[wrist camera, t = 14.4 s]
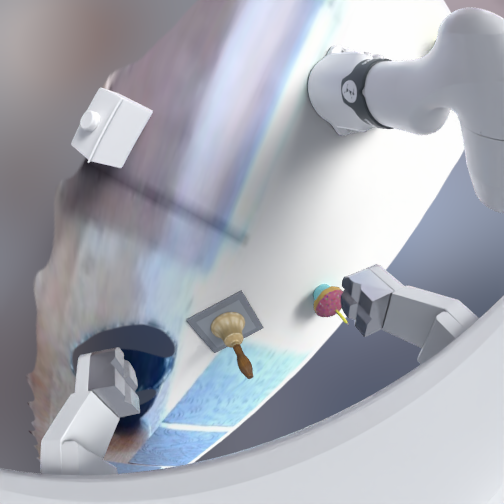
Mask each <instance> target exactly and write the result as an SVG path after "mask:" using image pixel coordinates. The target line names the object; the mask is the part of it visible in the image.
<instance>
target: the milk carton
mask: <svg viewBox="0 0 504 504" xmlns="http://www.w3.org/2000/svg"><path fill="white" fill-rule="evenodd" d="M152 113H153V111H152V110H150V109H148V108H146V107H144V106H143V105H141V104H139V103H137V102H135V101H133V100H131V99H129V98H127V97H125V96H123V95H120V94H118V93H116V92H113V91H110V90H107V89H104V88H100V89H99V90H98V92H97V93H96V95H95V97H94V98H93V100H92V102H91V104H90V106H89V108H88V109H87V111H86V112H85V113H84V114H83V116H82V118H81V121H80V126H79V127H78V129H77V131H76V134H75V136H74V138H73V140H72V143H71V145H72V146H73V147H74V148H75V149H77V150H78V151H79V152H80V153H81V154H82V155H84V156H85V157H86V158H87V159H88V163H90V162H91V161H92V162H96V163H101V164H105V165H109V166H114V167H118V168H122V167H123V165H124V163H125V161H126V159H127V157H128V155H129V153H130V152H131V150H132V148H133V146H134V144H135V142H136V141H137V139H138V137H139V135H140V133H141V132H142V130H143V128H144V127H145V125H146V123H147V121H148V120H149V118H150V116H151V115H152Z"/></svg>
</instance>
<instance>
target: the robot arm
mask: <svg viewBox="0 0 504 504" xmlns="http://www.w3.org/2000/svg"><path fill="white" fill-rule="evenodd" d="M341 51H342V53H341ZM308 93H309V98H310V101H311V103H312V106H313V107H314V109H315V111H316V112H317V113H318V114H319V115H320V116H321V117H322V118H323V119H324V120H326V121H327V122H329V123H330V124H331V125H332V126H333V127H334V129H335V131H336V132H337V133H338V134H339V135H343V136H345V135H348V134H351V133H354V132H358V131H362V132H366V131H367V130H369V129H372V128H375V127H377V128H383V129H384V128H385V129H393V128H395V129H399V130H403V131H407V132H410V133H414V134H417V135H428V134H431V133H434V132H436V131H438V130H439V129H440V128H441V127H442V126H443V125H444V123H445V121H446V120H447V118H448V115H449V113H450V110H453V111H454V112H455V113H456V114H457V115H458V118H459V121H460V125H461V130H462V136H463V142H464V148H465V155H466V163H467V167H468V170H469V174H470V177H471V180H472V183H473V187H474V190H475V193H476V195H477V197H478V198H479V200H480V201H481V202H482V203H483V204H484V205H485V206H487V207H488V208H490V209H492V210H494V211H496V212H500V213H504V19H503V18H502V17H500V16H498V15H496V14H494V13H492V12H490V11H487V10H484V9H480V8H463V9H459V10H456V11H454V12H452V13H451V14H449V15H448V16H447V17H446V18H445V19H444V20H443V22H442V23H441V25H440V27H439V30H438V36H437V39H436V42H435V44H434V46H433V48H432V49H431V50H430V52H429V53H428V54H427V55H425V56H423V57H422V58H419V59H415V60H404V61H392V60H389V59H384V57H383V56H380V55H373V56H372V57H371V53H367V52H364V54H363V53H362V52H357V51H354V50H351V49H348V48H345V47H342V46H338V45H334V46H332V47H331V48H330V50H329V51H328V53H327V55H326V56H325V57H324V58H323V59H321V60H320V61H319V62H318V63H317V64H316V65H315V66H314V67H313V69H312V71H311V73H310V76H309V80H308ZM342 287H343V288H344V289H345V290H344V291H343V293H342V294H341V301H340V302H341V306H342V309H343V311H344V313H345V315H346V316H347V317H348V318H350V319H353V320H355V326H356V328H357V329H358V330H359V331H360V332H361V334H362V335H363V336H364V337H366V336H368V335H370V334H372V333H375V332H377V331H379V330H381V329H382V330H384V331H386V332H388V333H390V334H392V335H394V336H397V337H399V338H401V339H403V340H405V341H407V342H410V343H412V344H414V345H416V346H418V347H421V348H422V350H421V352H420V354H419V356H418V360H417V361H418V362H419V363H420V364H421V365H420V366H418V367H417V368H415V369H414V370H412V371H411V372H409V373H408V374H406V375H404V376H403V377H401V378H400V379H398V380H397V381H395V382H393V383H392V384H390V385H388V386H387V387H385V388H383V389H382V390H380V391H378V392H377V393H375V394H373V395H371V396H369V397H368V398H366V399H364V400H362V401H360V402H358V403H357V404H355V405H353V406H351V407H349V408H347V409H345V410H343V411H341V412H339V413H337V414H335V415H333V416H331V417H328V418H326V419H324V420H322V421H320V422H318V423H315V424H313V425H311V426H308V427H306V428H304V429H302V430H299V431H296V432H294V433H291V434H289V435H286V436H283V437H281V438H278V439H275V440H273V441H270V442H267V443H264V444H261V445H258V446H255V447H252V448H249V449H246V450H242V451H239V452H235V453H232V454H229V455H225V456H222V457H217V458H213V459H209V460H205V461H201V462H196V463H192V464H187V465H182V466H176V467H171V468H165V469H158V470H151V471H143V472H135V473H124V474H118V473H117V468H116V467H115V466H113V465H112V464H110V463H108V462H106V461H105V460H103V458H104V456H105V453H106V450H107V448H108V445H109V443H110V440H111V438H112V435H113V433H114V431H115V428H116V426H117V423H118V421H119V418H118V417H124V416H129V415H133V414H138V413H140V407H139V397H138V396H137V395H136V393H135V390H136V389H137V387H138V386H137V378H136V375H135V371H134V369H133V367H132V365H131V364H130V362H128V361H126V360H124V354H123V352H122V351H121V350H120V348H112V349H107V350H102V351H97V352H92V353H88V354H83V355H80V357H79V359H78V364H77V373H76V383H75V393H73V394H71V395H70V397H69V398H68V400H67V401H66V403H65V404H64V406H63V407H62V409H61V410H60V412H59V413H58V415H57V417H56V418H55V420H54V421H53V423H52V424H51V426H50V428H49V429H48V431H47V432H46V434H45V436H44V437H43V439H42V441H41V474H38V473H28V472H20V471H13V470H7V469H1V468H0V504H504V296H503V297H502V298H501V299H500V300H499V301H498V302H497V303H495V304H494V306H493V307H491V308H490V309H489V310H488V311H487V312H486V313H485V314H484V315H483V316H482V317H480V318H478V317H477V316H476V315H474V313H472V312H471V311H470V310H469V309H468V308H467V307H466V306H464V305H463V304H462V303H461V302H460V301H459V300H456V299H453V298H450V297H446V296H443V295H439V294H436V293H432V292H429V291H425V290H422V289H418V288H415V287H411V286H403V285H402V284H401V283H400V282H399V281H398V280H397V279H395V278H394V277H393V276H392V275H391V274H390V273H388V272H387V271H386V270H385V269H384V268H383V267H381V266H380V265H377V264H376V265H373V266H371V267H368V268H366V269H363V270H361V271H358V272H356V273H353V274H351V275H348V276H346V277H344V278H343V280H342Z"/></svg>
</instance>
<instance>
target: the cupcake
mask: <svg viewBox="0 0 504 504" xmlns="http://www.w3.org/2000/svg"><path fill="white" fill-rule="evenodd" d="M342 293H343V291H342V290H341V289H340V288H339V287H333V286H331V287H330V286H328V285H326V284H323V285H320V286H319V287H317V288H316V290H315V291H314V294H313V296H314V299H315V301H314V310H315V312H316V314H317V315H318V316H321V317H330V316H333V315H335V314H338V315H339V316H340V317H341V319H342V320H343V321H344V322H345V323H347V320H346V319H345V318H344V317H343V316H342V314H341V313H340V312H339V310H341V308H342V306H341V302H340V301H341V294H342ZM347 324H348V323H347ZM348 325H349V324H348Z"/></svg>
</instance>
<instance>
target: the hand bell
mask: <svg viewBox="0 0 504 504" xmlns="http://www.w3.org/2000/svg"><path fill="white" fill-rule="evenodd" d="M244 326H245V319H244V317H243V316H242V315H241V314H239V313H236V312H227V313H223V314H221V315H219V316H218V317H216V318H215V319H214V320H213V322H212V324H211V331H212V333H213V334H214V335H215V336H216V337H218V338H221V339H222V340H223V342H224V344H225V345H226V346H228V347H233V349H234V351H235V353H236V355H237V362H238V366H239V369H240V371H241V372H242V373H243V374H244V375H245V376H246V377H247V378H248V379H251V378H252V377H253V372H252V365H251V362H250V361H249V359H248V358H247V357H246V356H245V355H244V353H243V351H242V348H241V346H240V344H241V343H242V341H243V334H242V330H243V328H244Z"/></svg>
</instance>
